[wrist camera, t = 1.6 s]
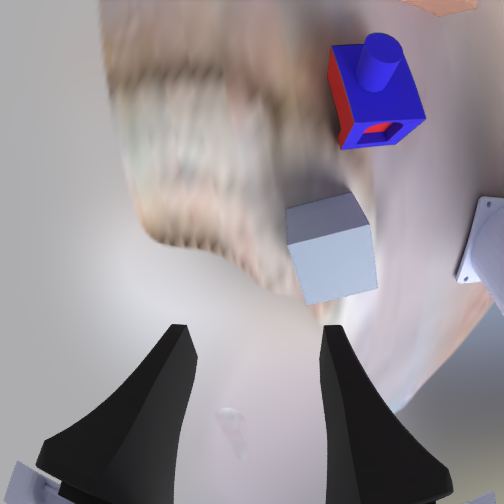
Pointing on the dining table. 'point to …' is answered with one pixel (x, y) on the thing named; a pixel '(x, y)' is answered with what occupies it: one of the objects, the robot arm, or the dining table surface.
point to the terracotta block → (444, 5)
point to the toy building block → (373, 92)
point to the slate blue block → (331, 248)
